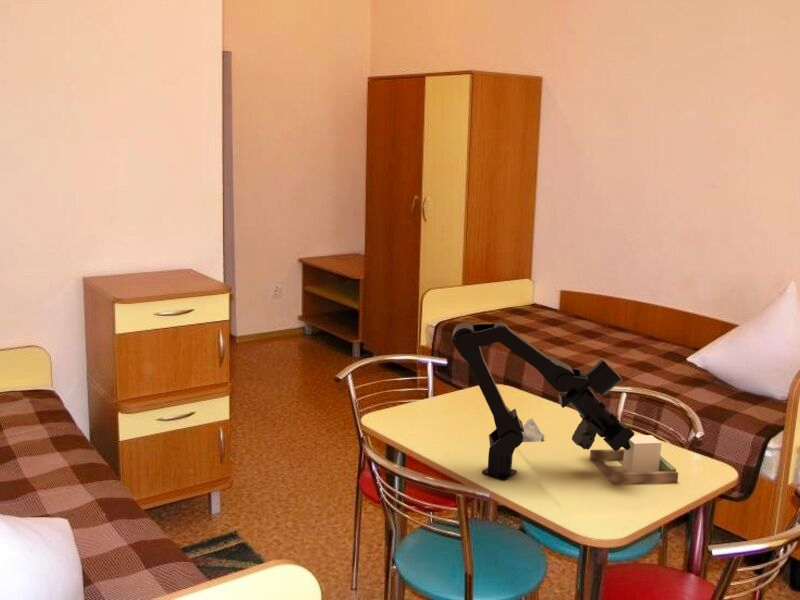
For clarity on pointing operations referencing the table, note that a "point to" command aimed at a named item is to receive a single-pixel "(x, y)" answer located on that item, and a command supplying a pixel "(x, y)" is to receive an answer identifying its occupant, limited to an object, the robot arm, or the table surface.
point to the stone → (532, 432)
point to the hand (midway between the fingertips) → (628, 448)
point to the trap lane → (623, 477)
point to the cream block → (642, 454)
